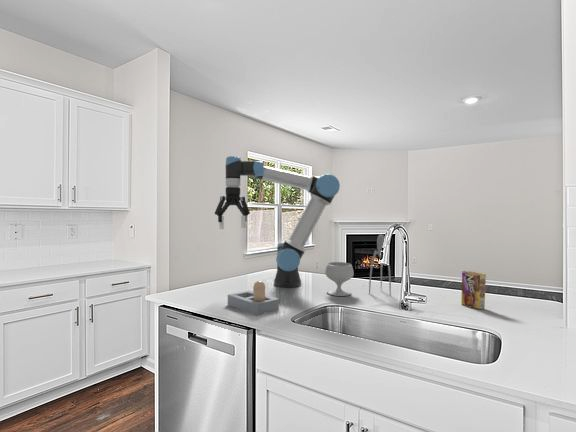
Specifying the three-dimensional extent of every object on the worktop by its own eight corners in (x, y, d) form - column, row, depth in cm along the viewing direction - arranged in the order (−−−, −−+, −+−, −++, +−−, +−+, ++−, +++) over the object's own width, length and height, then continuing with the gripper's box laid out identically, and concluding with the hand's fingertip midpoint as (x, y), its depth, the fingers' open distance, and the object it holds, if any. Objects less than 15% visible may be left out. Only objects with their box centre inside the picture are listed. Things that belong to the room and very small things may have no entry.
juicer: (384, 297, 172) (385, 235, 171) (368, 293, 179) (370, 234, 178) (396, 294, 179) (397, 234, 178) (380, 290, 186) (382, 233, 185)
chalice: (322, 295, 174) (323, 265, 173) (327, 289, 187) (328, 261, 187) (351, 298, 170) (352, 267, 169) (354, 291, 183) (355, 262, 183)
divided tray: (249, 300, 164) (249, 290, 164) (278, 309, 150) (278, 299, 150) (227, 305, 156) (227, 294, 156) (256, 315, 142) (256, 304, 141)
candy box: (485, 308, 155) (486, 273, 154) (478, 309, 153) (479, 274, 152) (467, 303, 163) (468, 270, 162) (460, 304, 161) (461, 271, 160)
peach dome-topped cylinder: (260, 304, 153) (260, 279, 153) (267, 307, 150) (267, 281, 149) (250, 306, 150) (250, 281, 149) (258, 309, 146) (258, 283, 146)
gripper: (247, 188, 194) (247, 227, 195) (207, 186, 177) (207, 228, 177) (256, 187, 189) (256, 227, 189) (216, 185, 171) (215, 229, 172)
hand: (232, 228), depth 183 cm, fingers open, 13 cm apart
